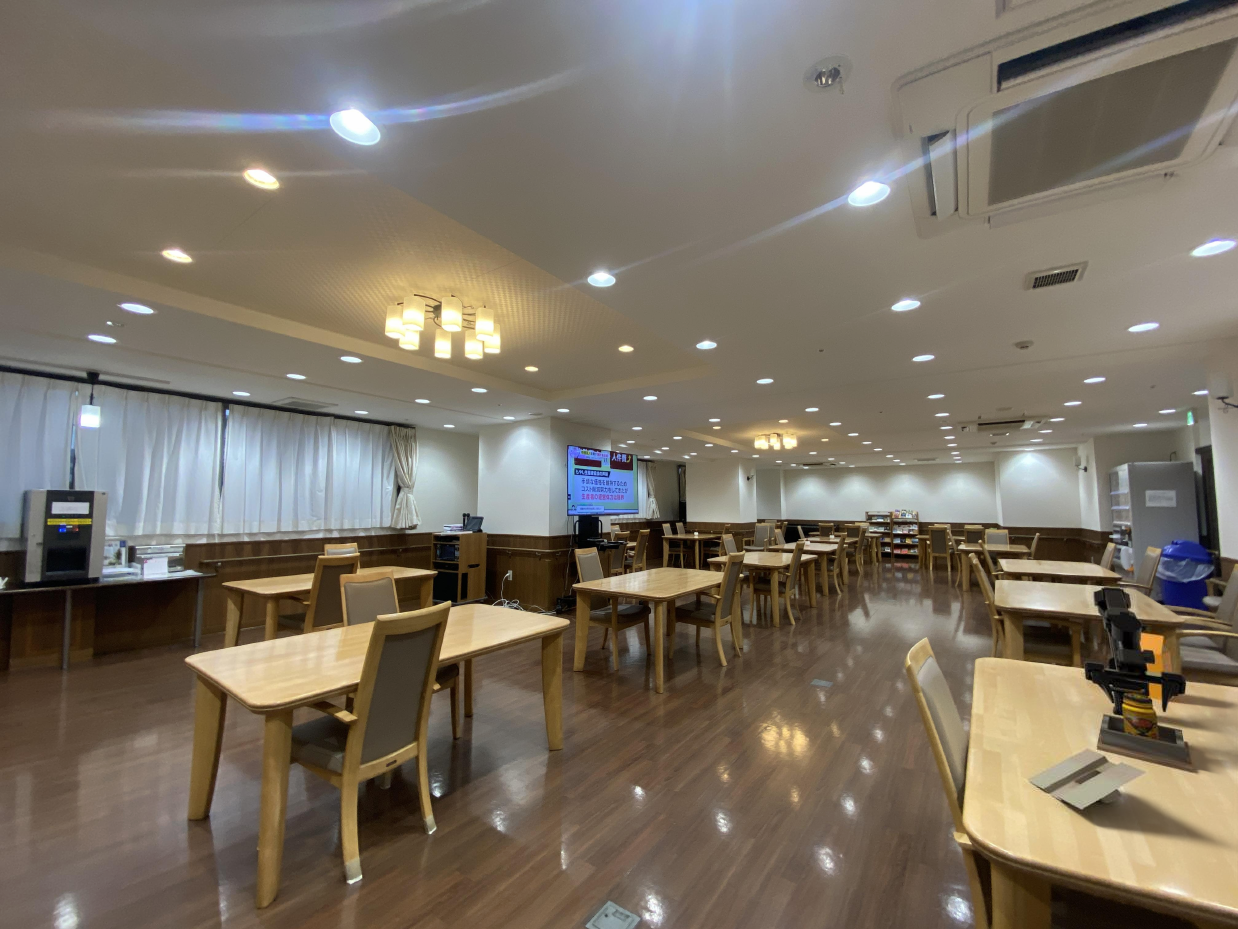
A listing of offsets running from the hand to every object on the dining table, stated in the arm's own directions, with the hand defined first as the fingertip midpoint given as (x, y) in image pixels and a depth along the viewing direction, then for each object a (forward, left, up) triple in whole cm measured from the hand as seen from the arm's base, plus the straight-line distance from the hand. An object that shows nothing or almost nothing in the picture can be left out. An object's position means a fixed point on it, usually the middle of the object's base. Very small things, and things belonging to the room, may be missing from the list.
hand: (1138, 707), depth 127 cm
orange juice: (-56, +2, -10) cm, 57 cm away
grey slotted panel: (+43, -8, -10) cm, 45 cm away
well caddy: (0, 0, -10) cm, 10 cm away
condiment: (0, 0, -9) cm, 9 cm away
